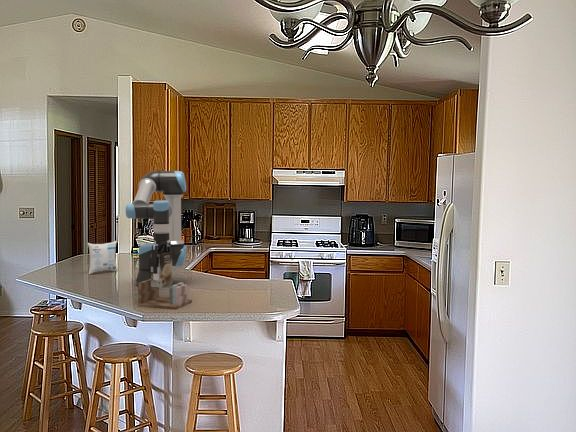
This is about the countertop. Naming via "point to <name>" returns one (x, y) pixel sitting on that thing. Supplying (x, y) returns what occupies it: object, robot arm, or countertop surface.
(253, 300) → the countertop surface
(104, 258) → the pouch
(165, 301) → the shelf
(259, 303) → the countertop surface
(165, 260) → the coffee box
